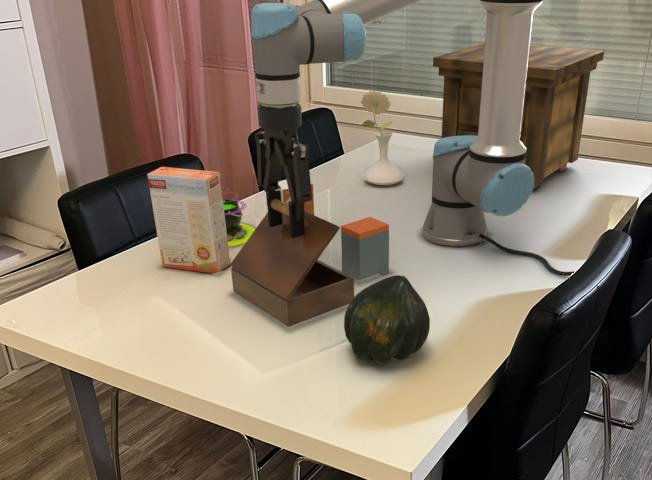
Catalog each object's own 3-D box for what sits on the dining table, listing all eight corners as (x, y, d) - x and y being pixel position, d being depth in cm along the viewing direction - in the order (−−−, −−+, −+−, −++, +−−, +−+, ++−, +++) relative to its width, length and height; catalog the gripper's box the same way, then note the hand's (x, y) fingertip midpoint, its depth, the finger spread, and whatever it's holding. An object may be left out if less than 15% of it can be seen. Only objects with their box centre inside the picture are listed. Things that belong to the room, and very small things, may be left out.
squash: (315, 332, 121) (370, 281, 112) (352, 299, 133) (405, 249, 124) (372, 394, 122) (431, 348, 113) (404, 355, 134) (460, 310, 125)
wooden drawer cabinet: (586, 166, 219) (604, 51, 202) (540, 198, 195) (556, 69, 178) (483, 149, 237) (491, 41, 220) (428, 176, 212) (433, 57, 195)
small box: (286, 243, 169) (282, 189, 162) (273, 235, 173) (269, 182, 166) (316, 236, 172) (313, 183, 166) (303, 228, 177) (300, 176, 170)
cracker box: (231, 264, 159) (221, 170, 148) (218, 275, 154) (206, 179, 143) (176, 256, 163) (162, 164, 152) (161, 267, 158) (145, 172, 147)
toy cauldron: (267, 238, 171) (263, 193, 166) (207, 252, 165) (201, 205, 159) (241, 219, 182) (237, 176, 177) (184, 231, 176) (178, 187, 170)
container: (370, 264, 158) (370, 216, 153) (388, 273, 154) (389, 224, 149) (342, 274, 154) (340, 225, 148) (360, 283, 150) (359, 233, 144)
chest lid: (279, 201, 144) (260, 182, 139) (340, 228, 131) (321, 208, 127) (231, 267, 143) (210, 250, 138) (288, 301, 130) (266, 283, 126)
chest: (296, 273, 155) (295, 248, 152) (354, 305, 142) (354, 278, 139) (233, 294, 146) (230, 268, 143) (289, 330, 133) (287, 302, 130)
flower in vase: (410, 180, 209) (412, 90, 196) (390, 191, 201) (391, 97, 188) (372, 173, 215) (371, 85, 202) (351, 183, 207) (349, 92, 194)
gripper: (230, 97, 128) (242, 220, 140) (293, 116, 116) (300, 250, 128) (266, 92, 133) (274, 212, 144) (331, 109, 120) (333, 240, 132)
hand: (286, 230), depth 136 cm, fingers closed on chest lid, 6 cm apart
